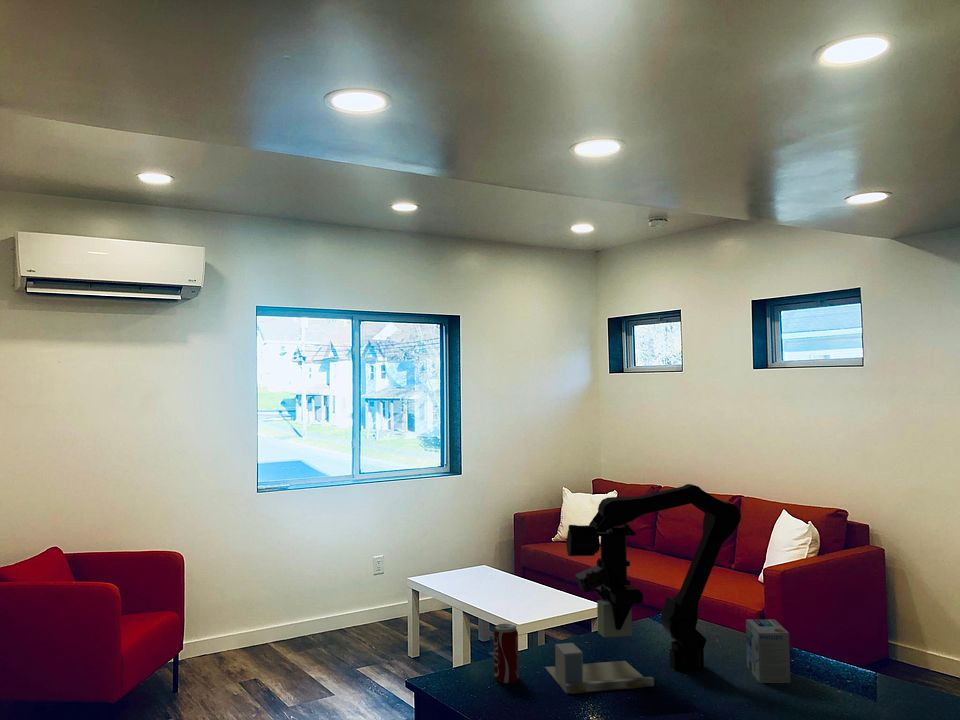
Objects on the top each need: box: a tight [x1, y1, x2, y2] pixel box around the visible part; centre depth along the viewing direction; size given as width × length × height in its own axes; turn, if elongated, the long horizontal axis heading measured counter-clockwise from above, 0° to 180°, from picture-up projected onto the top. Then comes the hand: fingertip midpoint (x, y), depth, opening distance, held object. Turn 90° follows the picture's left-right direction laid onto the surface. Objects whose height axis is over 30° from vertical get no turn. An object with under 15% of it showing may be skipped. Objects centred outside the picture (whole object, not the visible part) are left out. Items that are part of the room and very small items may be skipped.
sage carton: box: [596, 599, 633, 638], centre depth 169 cm, size 4×7×7 cm, turn 101°
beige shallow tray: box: [544, 660, 655, 694], centre depth 165 cm, size 19×16×2 cm
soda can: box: [493, 623, 519, 684], centre depth 164 cm, size 5×5×12 cm
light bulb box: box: [745, 618, 791, 684], centre depth 167 cm, size 11×7×11 cm, turn 175°
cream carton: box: [554, 642, 584, 688], centre depth 161 cm, size 4×7×7 cm, turn 11°
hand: (614, 626), depth 169 cm, fingers closed on sage carton, 4 cm apart
